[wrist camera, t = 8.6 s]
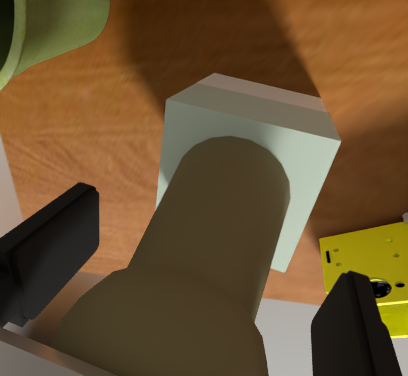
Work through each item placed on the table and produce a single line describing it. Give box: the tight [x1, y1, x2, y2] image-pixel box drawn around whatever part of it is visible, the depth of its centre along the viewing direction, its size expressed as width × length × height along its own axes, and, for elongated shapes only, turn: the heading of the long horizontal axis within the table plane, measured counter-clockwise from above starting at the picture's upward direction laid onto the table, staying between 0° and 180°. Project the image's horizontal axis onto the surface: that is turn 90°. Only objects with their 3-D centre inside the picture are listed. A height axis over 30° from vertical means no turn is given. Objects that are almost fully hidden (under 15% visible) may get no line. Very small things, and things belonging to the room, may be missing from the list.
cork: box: [50, 136, 291, 376], centre depth 10 cm, size 6×6×11 cm
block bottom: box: [197, 73, 327, 112], centre depth 21 cm, size 8×8×5 cm
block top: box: [156, 83, 341, 273], centre depth 17 cm, size 8×8×5 cm
